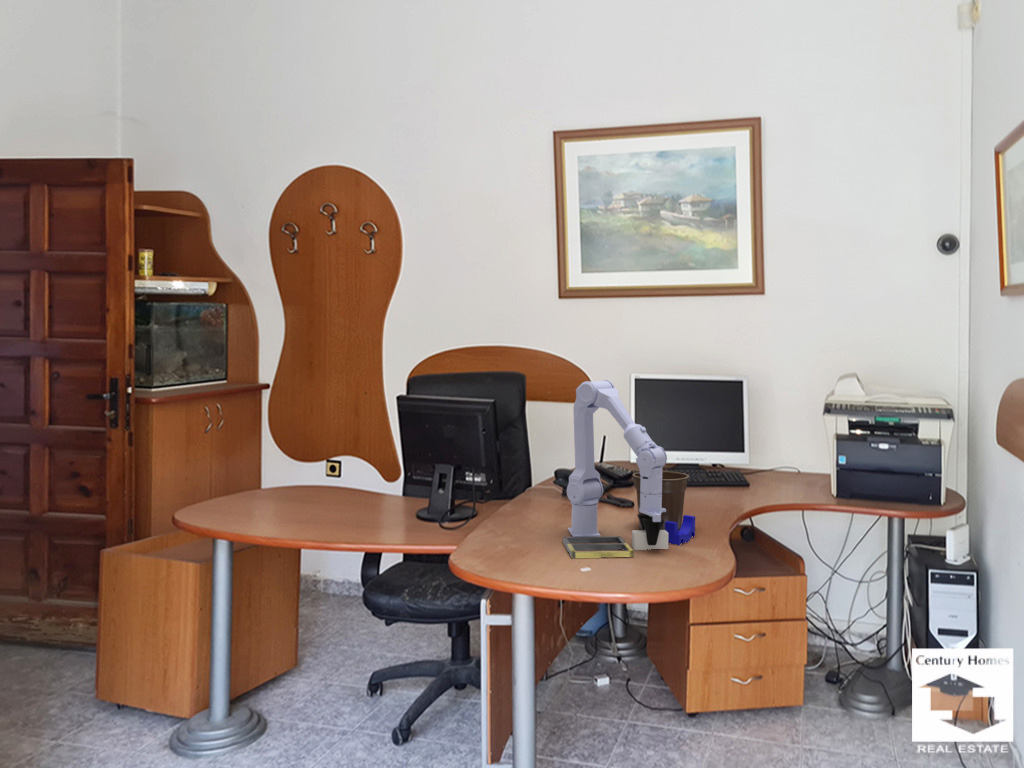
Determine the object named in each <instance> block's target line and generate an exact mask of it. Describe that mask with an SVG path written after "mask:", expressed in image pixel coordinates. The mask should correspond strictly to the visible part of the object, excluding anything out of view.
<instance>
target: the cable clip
mask: <svg viewBox="0 0 1024 768" xmlns="http://www.w3.org/2000/svg"><path fill="white" fill-rule="evenodd" d="M665 530H666V531H667V532H668V543H671V544H670V545H673V544H677V545H676V546H679V545H680V544H681V543H685V542H687V543H689V542H688V541H691V539H692V538H691V537H692V536H693V538H695V537H696V515H695V516H694V515H688V514H685V515H684V514H683V516H682V526H681V528H680V530H679V531H678V523H677V522H670V521H667V522H665ZM694 536H695V537H694ZM685 544H686V543H685ZM680 546H681V545H680Z"/></svg>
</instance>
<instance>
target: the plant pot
mask: <svg viewBox="0 0 1024 768" xmlns="http://www.w3.org/2000/svg"><path fill="white" fill-rule="evenodd" d="M632 478H633V481H634V487H635V488H634V489H635V490H636V491H635V492H636V501H637V502H636V503H637V513H638V514H643V513H641V512H639V508H640V478H641V475H640V471H638V472H634V473H632ZM689 478H690V475H689V474H687V473H684V472H678V471H669V470H667V471H666V470H662V508H665V509H666V512H662V514H661V519H663V520H664V523H663V525H662V527H661V529H660V530H665V522H667V521H670V522H677V523H678V531H679V530H680V528H681V526H682V522H683V516H684V514H683V512H684V505H685V504H684V503H685V497H686V496H685V493H686V490H687V486H688V479H689ZM638 514H637V515H638ZM638 523H639V524H638V526H639V527H638V528H639V529H640V530H642V526H641V523H640V520H639V519H638Z"/></svg>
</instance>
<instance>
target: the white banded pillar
mask: <svg viewBox="0 0 1024 768" xmlns="http://www.w3.org/2000/svg"><path fill="white" fill-rule="evenodd" d="M632 547H633V548H634V549H633V548H632ZM631 548H632V549H633V551H652V550H651V549H668V550H669V544H668V532H667V531H666V530H660V532H659V535H658V540H657V543H656V545H648V543H647V537H646V530H641V529H640V530H638V529H636V530H635V529H634V530H631ZM647 549H648V550H647ZM649 549H650V550H649Z"/></svg>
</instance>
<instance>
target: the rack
mask: <svg viewBox="0 0 1024 768" xmlns="http://www.w3.org/2000/svg"><path fill="white" fill-rule="evenodd" d="M603 542H604V543H603ZM605 542H618V543H605ZM563 543H564V544H563ZM562 544H563V545H565V546H564V548H565V549H566V551H567V552H569V553H568V554H570V555H569V557H570V556H571V557H570V559H602V558H601V557H634V555H635V554H634V553H635V552H634V549H633V548H632V546H631V545H630V544H628V542H626V541H625V540H624V539H623V538H622V536H617V535H616V536H614V535H613V536H591V537H573V536H562ZM618 549H624V550H618Z"/></svg>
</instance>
